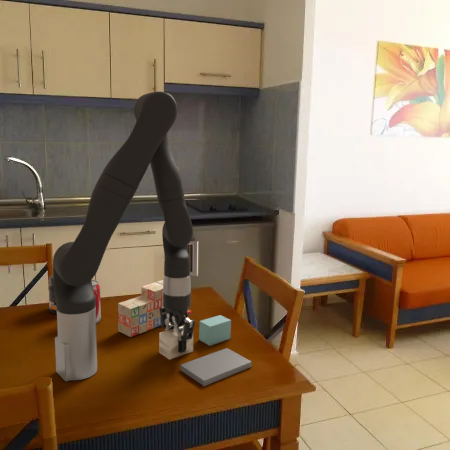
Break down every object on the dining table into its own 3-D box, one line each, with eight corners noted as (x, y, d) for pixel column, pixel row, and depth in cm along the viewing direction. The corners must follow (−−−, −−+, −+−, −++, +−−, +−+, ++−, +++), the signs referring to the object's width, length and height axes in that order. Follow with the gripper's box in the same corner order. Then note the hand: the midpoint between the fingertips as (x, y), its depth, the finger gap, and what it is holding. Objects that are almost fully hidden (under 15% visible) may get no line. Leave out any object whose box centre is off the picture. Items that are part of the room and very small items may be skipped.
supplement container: (45, 308, 162) (43, 274, 160) (75, 302, 168) (74, 269, 166) (54, 318, 154) (53, 282, 152) (86, 311, 160) (85, 277, 158)
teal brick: (209, 346, 138) (210, 326, 137) (199, 340, 142) (199, 321, 140) (230, 338, 143) (231, 320, 142) (219, 333, 147) (220, 315, 146)
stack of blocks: (130, 338, 141) (130, 299, 138) (117, 331, 145) (117, 293, 142) (182, 317, 157) (182, 282, 155) (169, 311, 161) (169, 277, 158)
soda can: (83, 328, 147) (82, 288, 145) (73, 320, 152) (72, 281, 150) (104, 322, 152) (104, 283, 149) (94, 315, 157) (93, 277, 155)
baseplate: (204, 386, 116) (204, 380, 116) (180, 370, 123) (180, 364, 123) (251, 366, 126) (251, 361, 126) (226, 352, 134) (227, 348, 133)
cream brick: (169, 359, 129) (169, 339, 128) (159, 352, 133) (159, 332, 132) (192, 351, 134) (193, 331, 133) (182, 345, 138) (182, 325, 137)
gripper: (151, 285, 133) (151, 342, 136) (181, 300, 122) (180, 361, 125) (173, 281, 138) (172, 336, 141) (204, 294, 127) (202, 353, 130)
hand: (176, 347), depth 133 cm, fingers closed on cream brick, 5 cm apart
